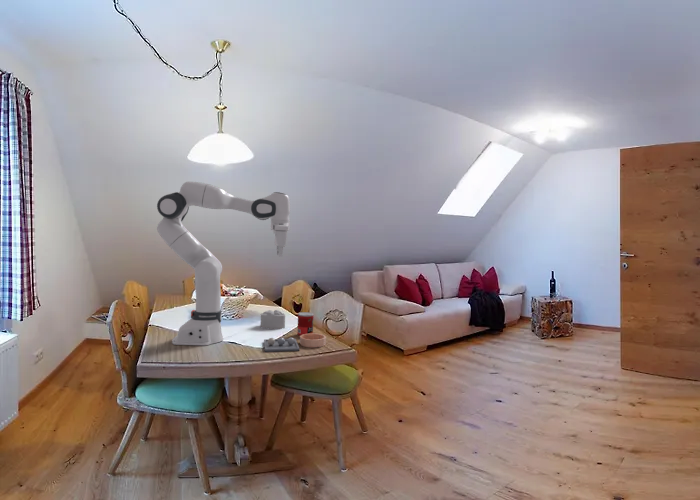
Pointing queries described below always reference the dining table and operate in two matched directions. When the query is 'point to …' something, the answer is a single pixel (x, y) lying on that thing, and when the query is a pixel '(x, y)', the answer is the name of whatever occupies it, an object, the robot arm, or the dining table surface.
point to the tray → (280, 346)
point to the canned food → (305, 323)
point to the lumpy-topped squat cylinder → (273, 319)
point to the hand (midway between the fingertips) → (279, 255)
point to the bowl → (312, 340)
